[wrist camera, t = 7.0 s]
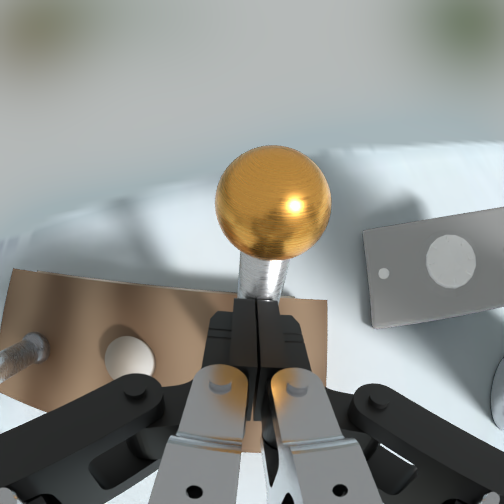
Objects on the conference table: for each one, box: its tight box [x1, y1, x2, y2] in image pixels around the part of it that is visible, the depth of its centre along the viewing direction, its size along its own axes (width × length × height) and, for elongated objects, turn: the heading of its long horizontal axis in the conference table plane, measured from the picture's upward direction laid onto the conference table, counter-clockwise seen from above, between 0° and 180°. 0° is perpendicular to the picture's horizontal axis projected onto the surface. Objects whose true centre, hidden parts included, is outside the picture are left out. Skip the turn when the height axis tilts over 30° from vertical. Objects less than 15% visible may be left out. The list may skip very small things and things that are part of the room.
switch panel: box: [0, 268, 327, 453], centre depth 18 cm, size 24×10×5 cm, turn 87°
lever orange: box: [215, 145, 331, 306], centre depth 12 cm, size 3×3×14 cm
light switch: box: [362, 207, 504, 329], centre depth 22 cm, size 8×6×14 cm
